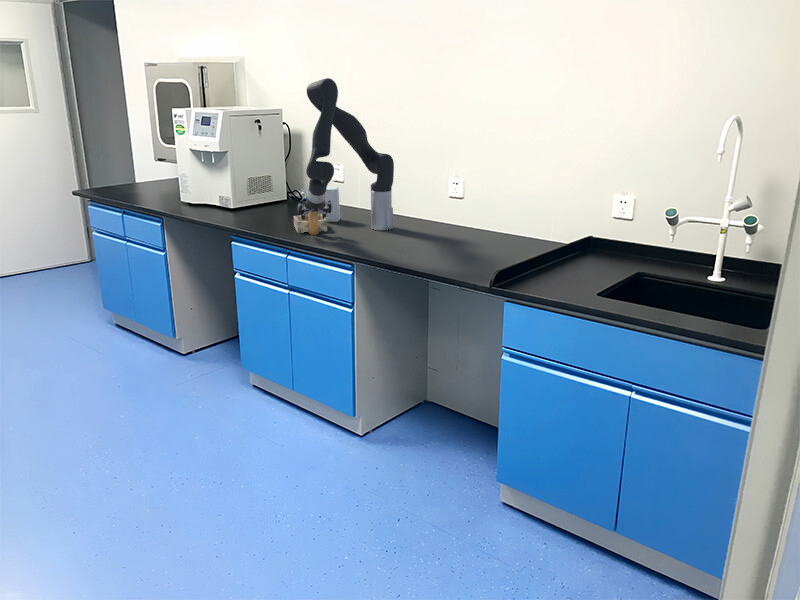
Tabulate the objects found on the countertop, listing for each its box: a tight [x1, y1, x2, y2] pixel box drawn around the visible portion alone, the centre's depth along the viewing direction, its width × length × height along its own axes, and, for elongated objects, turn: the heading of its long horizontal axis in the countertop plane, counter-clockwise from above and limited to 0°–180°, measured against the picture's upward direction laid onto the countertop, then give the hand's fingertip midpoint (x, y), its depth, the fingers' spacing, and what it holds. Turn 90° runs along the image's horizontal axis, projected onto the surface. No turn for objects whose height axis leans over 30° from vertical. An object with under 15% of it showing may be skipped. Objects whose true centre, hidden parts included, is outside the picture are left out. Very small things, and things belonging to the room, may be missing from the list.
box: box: [293, 213, 328, 234], centre depth 282 cm, size 13×13×5 cm
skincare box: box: [320, 186, 341, 223], centre depth 297 cm, size 8×7×16 cm
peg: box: [307, 211, 320, 236], centre depth 272 cm, size 4×4×12 cm
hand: (313, 217), depth 272 cm, fingers open, 8 cm apart
